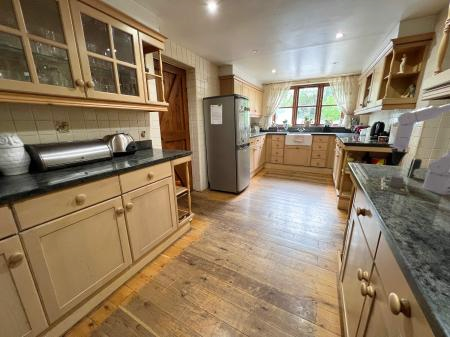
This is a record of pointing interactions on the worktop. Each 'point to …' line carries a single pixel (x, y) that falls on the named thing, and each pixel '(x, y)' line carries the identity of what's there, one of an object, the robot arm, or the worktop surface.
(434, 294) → the worktop surface
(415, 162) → the battery charger
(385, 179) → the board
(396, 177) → the plug
